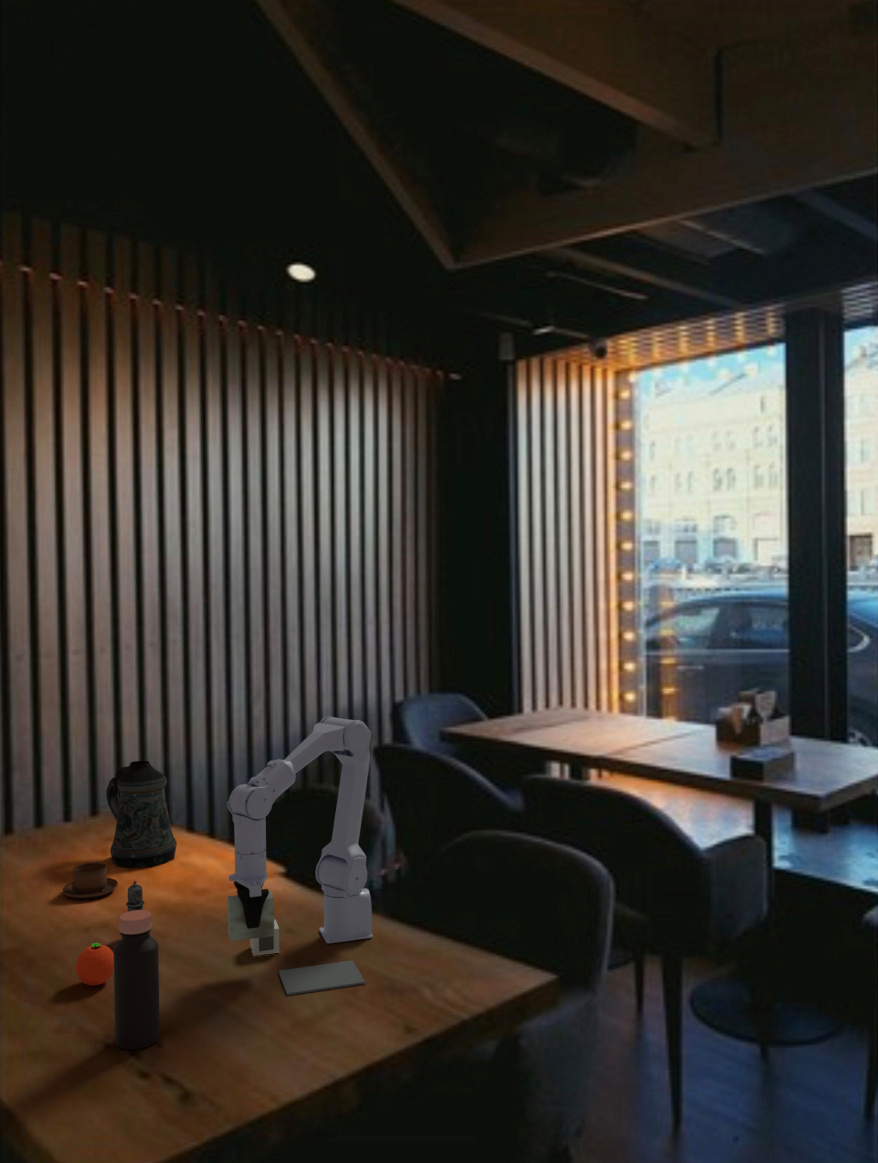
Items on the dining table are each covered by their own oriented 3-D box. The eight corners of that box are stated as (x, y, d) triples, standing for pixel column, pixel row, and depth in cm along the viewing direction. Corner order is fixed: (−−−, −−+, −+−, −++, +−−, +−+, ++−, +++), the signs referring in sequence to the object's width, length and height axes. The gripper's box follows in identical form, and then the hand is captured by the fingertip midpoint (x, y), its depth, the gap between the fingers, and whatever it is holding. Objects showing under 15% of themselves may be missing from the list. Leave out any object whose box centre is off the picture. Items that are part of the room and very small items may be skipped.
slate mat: (352, 962, 181) (352, 960, 181) (365, 983, 171) (365, 981, 171) (278, 972, 177) (278, 970, 177) (287, 995, 167) (287, 993, 167)
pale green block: (271, 928, 181) (270, 891, 181) (274, 935, 177) (273, 898, 177) (228, 933, 178) (227, 896, 178) (230, 941, 174) (229, 903, 174)
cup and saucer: (51, 899, 219) (50, 872, 219) (88, 883, 230) (88, 857, 230) (92, 905, 214) (92, 878, 214) (128, 888, 225) (128, 862, 225)
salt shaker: (141, 946, 190) (140, 886, 190) (114, 944, 191) (113, 884, 191) (156, 934, 196) (155, 876, 196) (130, 933, 197) (129, 875, 197)
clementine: (74, 977, 176) (74, 939, 176) (114, 970, 178) (113, 933, 178) (76, 995, 168) (75, 955, 168) (118, 988, 171) (117, 948, 171)
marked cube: (275, 944, 190) (275, 918, 190) (279, 954, 185) (279, 928, 185) (250, 947, 189) (250, 921, 189) (253, 957, 184) (253, 931, 184)
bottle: (135, 1055, 147) (133, 926, 147) (105, 1044, 151) (103, 918, 150) (169, 1036, 153) (167, 912, 153) (140, 1026, 156) (138, 904, 156)
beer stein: (166, 868, 240) (164, 769, 239) (89, 869, 240) (87, 770, 240) (184, 849, 256) (183, 756, 256) (112, 849, 256) (110, 757, 256)
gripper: (224, 841, 183) (225, 912, 183) (232, 863, 169) (233, 940, 169) (261, 838, 185) (263, 907, 185) (272, 859, 171) (273, 934, 172)
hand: (251, 923), depth 178 cm, fingers closed on pale green block, 4 cm apart
